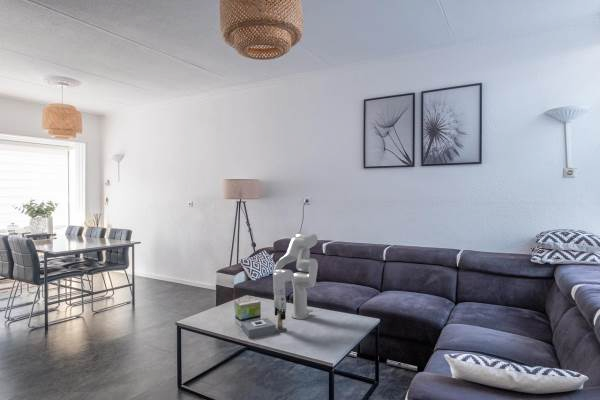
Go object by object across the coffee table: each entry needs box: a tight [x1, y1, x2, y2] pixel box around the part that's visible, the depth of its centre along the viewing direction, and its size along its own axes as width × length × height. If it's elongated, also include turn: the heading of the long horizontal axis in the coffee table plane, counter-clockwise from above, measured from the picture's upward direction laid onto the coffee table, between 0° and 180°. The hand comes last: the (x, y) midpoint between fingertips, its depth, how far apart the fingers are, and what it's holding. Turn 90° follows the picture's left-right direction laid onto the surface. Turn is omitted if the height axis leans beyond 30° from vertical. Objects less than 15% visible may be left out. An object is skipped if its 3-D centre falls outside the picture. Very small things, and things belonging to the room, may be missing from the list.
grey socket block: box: [241, 318, 277, 339], centre depth 231 cm, size 18×14×6 cm
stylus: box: [277, 310, 284, 330], centre depth 232 cm, size 3×3×12 cm
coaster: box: [276, 326, 287, 334], centre depth 232 cm, size 8×8×1 cm
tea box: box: [234, 298, 262, 328], centre depth 247 cm, size 15×10×15 cm, turn 123°
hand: (280, 317), depth 232 cm, fingers open, 9 cm apart
